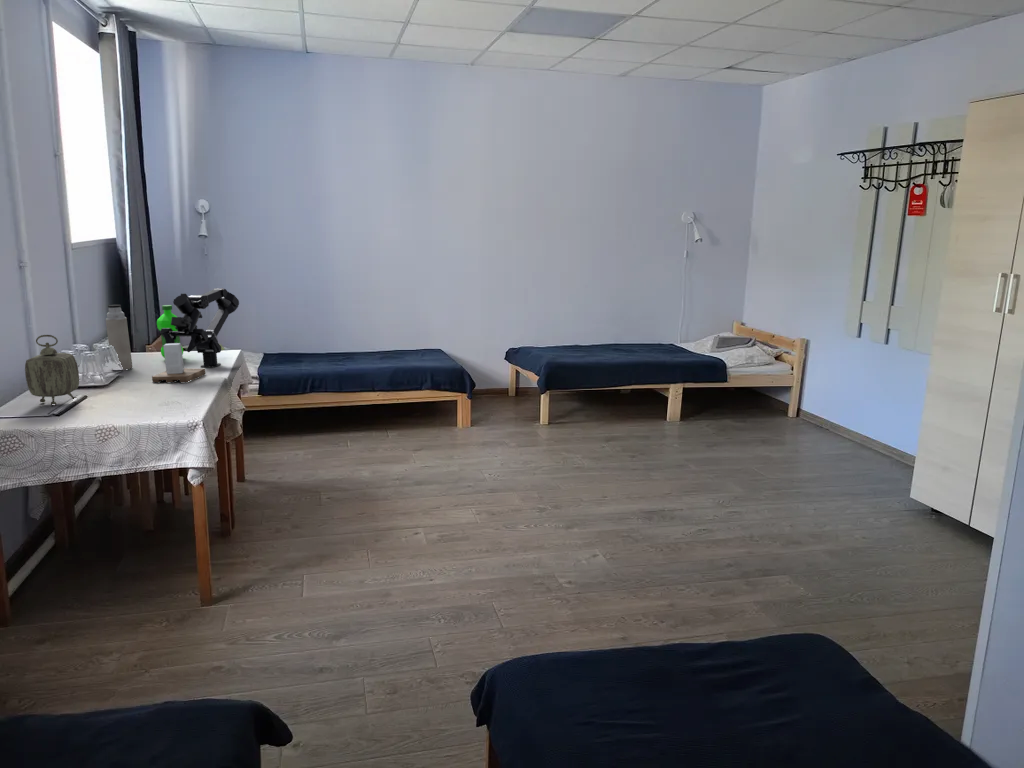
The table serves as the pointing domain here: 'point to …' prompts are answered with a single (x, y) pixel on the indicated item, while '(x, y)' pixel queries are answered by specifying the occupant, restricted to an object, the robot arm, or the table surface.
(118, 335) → the thermos bottle
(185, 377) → the pallet dock
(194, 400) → the table surface
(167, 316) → the plastic bottle
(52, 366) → the tabletop clock
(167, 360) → the skincare box
